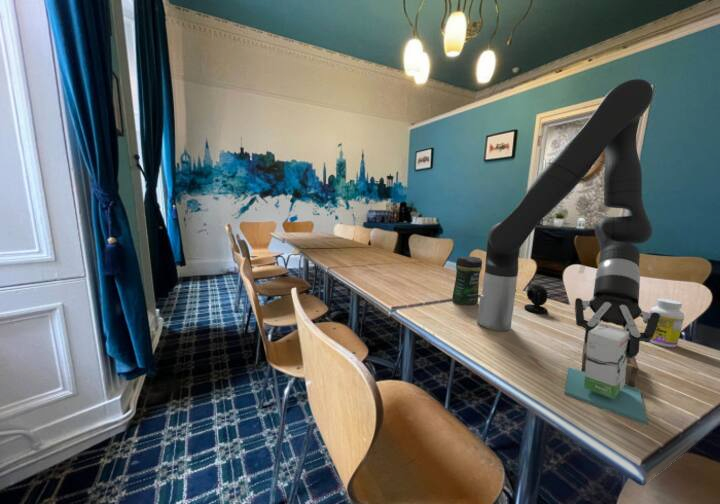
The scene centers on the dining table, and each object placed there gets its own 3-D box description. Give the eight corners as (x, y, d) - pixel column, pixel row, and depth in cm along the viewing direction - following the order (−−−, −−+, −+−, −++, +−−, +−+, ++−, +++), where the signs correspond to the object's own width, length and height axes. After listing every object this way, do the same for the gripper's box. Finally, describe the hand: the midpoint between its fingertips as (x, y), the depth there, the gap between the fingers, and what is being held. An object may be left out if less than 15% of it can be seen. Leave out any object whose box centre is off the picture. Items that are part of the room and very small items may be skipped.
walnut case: (581, 370, 65) (584, 353, 65) (582, 350, 75) (585, 334, 75) (634, 387, 60) (638, 368, 59) (628, 362, 70) (631, 346, 69)
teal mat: (564, 394, 57) (564, 391, 57) (568, 369, 66) (568, 367, 66) (647, 424, 49) (648, 421, 49) (638, 391, 58) (639, 389, 58)
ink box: (614, 400, 53) (620, 341, 51) (582, 388, 57) (586, 332, 55) (626, 384, 58) (631, 329, 56) (595, 373, 62) (599, 322, 60)
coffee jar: (463, 306, 106) (468, 259, 103) (448, 300, 113) (452, 255, 110) (481, 304, 110) (486, 258, 107) (466, 297, 117) (471, 254, 114)
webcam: (519, 306, 108) (522, 282, 107) (537, 306, 109) (540, 282, 107) (533, 314, 101) (537, 288, 99) (552, 314, 101) (556, 288, 100)
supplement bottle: (637, 337, 85) (646, 297, 83) (657, 337, 85) (666, 297, 83) (663, 348, 78) (673, 305, 76) (684, 348, 79) (694, 305, 77)
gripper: (578, 268, 66) (567, 332, 59) (667, 280, 57) (666, 357, 50) (575, 285, 71) (565, 346, 64) (656, 298, 62) (655, 371, 55)
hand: (609, 350), depth 57 cm, fingers closed on ink box, 5 cm apart
